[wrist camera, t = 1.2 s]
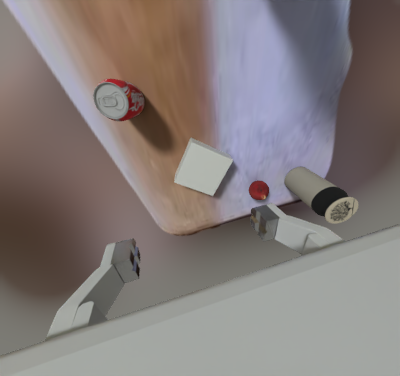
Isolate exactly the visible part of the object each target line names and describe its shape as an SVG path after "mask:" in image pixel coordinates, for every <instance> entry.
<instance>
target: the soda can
mask: <svg viewBox="0 0 400 376" xmlns="http://www.w3.org/2000/svg"><path fill="white" fill-rule="evenodd" d="M93 97H94V102H95V105H96V107H97V109H98V110H99V111H100V112H101V113H102V114H103V115H104V116H106V117H107V118H109V119H111V120H114V121H125V120H128V119H131V118H133V117H135V116H137V115H139V114H140V113H141V112H142V110H143V108H144V103H145V102H144V97H143V94H142V92H141V91H140V90H139V89H138V88H137V87H136V86H135V85H133V84H131V83H129V82H125V81H121V80H117V79H106V80H103V81H101V82H100V83H99V84H98V85H97V87H96V88H95V90H94V95H93Z"/></svg>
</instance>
